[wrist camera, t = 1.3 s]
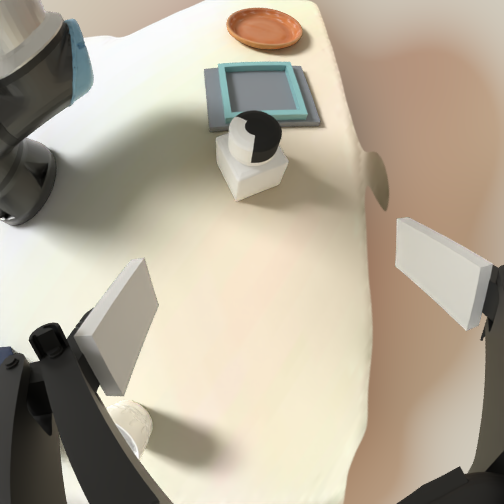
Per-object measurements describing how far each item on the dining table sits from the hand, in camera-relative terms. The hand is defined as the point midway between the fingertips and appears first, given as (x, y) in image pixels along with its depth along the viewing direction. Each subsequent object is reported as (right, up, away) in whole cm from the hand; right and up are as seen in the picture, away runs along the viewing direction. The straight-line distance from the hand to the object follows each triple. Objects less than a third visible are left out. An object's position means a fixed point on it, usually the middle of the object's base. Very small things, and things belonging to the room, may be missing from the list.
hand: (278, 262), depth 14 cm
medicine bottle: (-2, +12, +28) cm, 31 cm away
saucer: (+1, +47, +36) cm, 59 cm away
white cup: (-18, -23, +20) cm, 36 cm away
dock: (0, +27, +31) cm, 42 cm away
